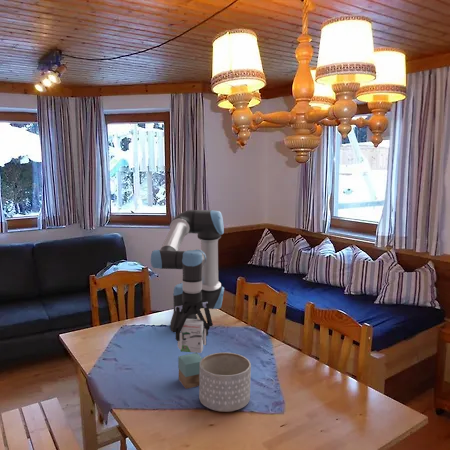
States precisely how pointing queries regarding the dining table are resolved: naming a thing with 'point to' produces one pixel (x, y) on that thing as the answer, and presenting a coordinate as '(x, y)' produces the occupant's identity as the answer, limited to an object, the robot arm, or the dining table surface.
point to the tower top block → (189, 364)
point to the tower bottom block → (189, 380)
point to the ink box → (192, 336)
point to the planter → (224, 381)
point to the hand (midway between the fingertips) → (191, 345)
